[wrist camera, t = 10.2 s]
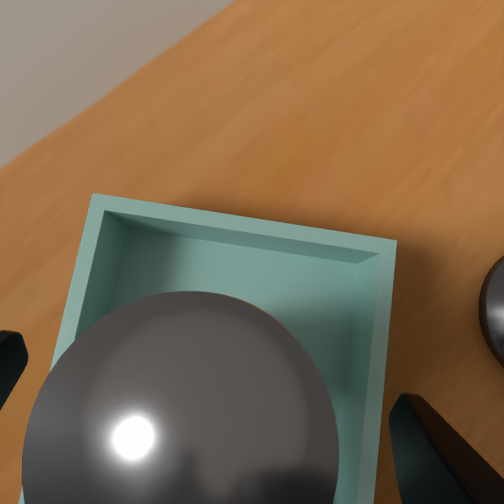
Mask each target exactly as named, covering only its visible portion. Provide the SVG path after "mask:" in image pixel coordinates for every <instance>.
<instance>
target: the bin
mask: <svg viewBox="0 0 504 504" xmlns="http://www.w3.org/2000/svg"><path fill="white" fill-rule="evenodd" d="M396 247H397V240H391V239H385V238H379V237H372V236H366V235H359V234H353V233H346V232H340V231H334V230H327V229H321V228H314V227H308V226H301V225H295V224H289V223H282V222H276V221H269V220H263V219H256V218H250V217H243V216H237V215H231V214H224V213H218V212H211V211H205V210H198V209H192V208H186V207H179V206H173V205H166V204H160V203H153V202H147V201H141V200H134V199H128V198H121V197H115V196H108V195H102V194H95V193H92V197H91V201H90V206H89V210H88V214H87V218H86V222H85V227H84V231H83V235H82V239H81V243H80V248H79V252H78V256H77V260H76V264H75V268H74V273H73V277H72V281H71V285H70V289H69V294H68V298H67V302H66V306H65V310H64V315H63V319H62V323H61V327H60V331H59V335H58V340H57V344H56V348H55V352H54V356H53V361H52V365H51V369H50V371H51V370H52V368H53V367H54V365H55V364H56V362H57V361H58V359H59V358H60V357H61V355H62V354H63V353H64V352H65V351H66V350H67V348H68V347H69V346H70V345H71V344H72V343H73V342H74V340H75V339H76V338H78V337H79V336H80V335H81V334H82V333H83V332H84V331H85V330H86V329H88V328H89V327H90V326H91V325H92V324H94V323H95V322H97V321H98V320H100V319H101V318H102V317H104V316H105V315H107V314H108V313H110V312H112V311H114V310H116V309H118V308H120V307H121V306H123V305H125V304H128V303H131V302H133V301H136V300H138V299H141V298H144V297H148V296H152V295H156V294H160V293H166V292H175V291H202V292H212V293H219V294H224V295H228V296H231V297H235V298H238V299H241V300H243V301H246V302H248V303H250V304H253V305H255V306H256V307H258V308H260V309H261V310H263V311H265V312H266V313H268V314H270V315H271V316H272V317H273V318H275V319H276V320H277V321H278V322H280V323H281V324H282V325H283V326H284V327H285V328H286V329H287V330H288V331H289V332H290V333H291V334H292V335H293V336H294V337H295V338H296V340H297V341H298V342H299V343H300V344H301V345H302V347H303V348H304V349H305V351H306V352H307V353H308V355H309V356H310V357H311V359H312V360H313V362H314V364H315V366H316V368H317V369H318V371H319V373H320V375H321V376H322V379H323V381H324V383H325V386H326V388H327V391H328V393H329V395H330V399H331V403H332V406H333V410H334V413H335V417H336V424H337V430H338V437H339V469H338V481H337V486H336V491H335V496H334V501H333V504H374V494H375V482H376V471H377V460H378V449H379V438H380V426H381V415H382V404H383V393H384V381H385V370H386V359H387V348H388V337H389V325H390V314H391V303H392V292H393V280H394V269H395V258H396ZM18 504H25V503H24V495H23V486H22V490H21V495H20V499H19V503H18Z"/></svg>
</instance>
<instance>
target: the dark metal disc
mask: <svg viewBox="0 0 504 504" xmlns="http://www.w3.org/2000/svg"><path fill="white" fill-rule="evenodd" d="M479 317H480V324H481V328H482V331H483V335H484V337H485V339H486V342H487V344H488V346H489V348H490V349H491V351H492V353H493V354H494V356H495V357H496V359H497V360H498V361H499V362H500V363H501V365H502V366H503V367H504V256H502V257H501V258H500V259H499V260H498V261H497V262H496V263H495V264H494V265H493V267H492V268H491V269H490V271H489V272H488V274H487V276H486V278H485V280H484V283H483V285H482V289H481V292H480V298H479Z"/></svg>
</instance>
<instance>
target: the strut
mask: <svg viewBox="0 0 504 504" xmlns="http://www.w3.org/2000/svg"><path fill="white" fill-rule="evenodd" d="M338 469H339V437H338V430H337V424H336V417H335V413H334V410H333V406H332V403H331V399H330V395H329V393H328V391H327V388H326V386H325V383H324V381H323V379H322V376H321V375H320V373H319V371H318V369H317V368H316V366H315V364H314V362H313V360H312V359H311V357H310V356H309V355H308V353H307V352H306V351H305V349H304V348H303V347H302V345H301V344H300V343H299V342H298V341H297V340H296V338H295V337H294V336H293V335H292V334H291V333H290V332H289V331H288V330H287V329H286V328H285V327H284V326H283V325H282V324H281V323H280V322H278V321H277V320H276V319H275V318H273V317H272V316H271V315H270V314H268V313H266V312H265V311H263V310H261V309H260V308H258V307H256V306H255V305H253V304H250V303H248V302H246V301H243V300H241V299H238V298H235V297H231V296H228V295H224V294H219V293H212V292H202V291H175V292H166V293H160V294H156V295H152V296H148V297H144V298H141V299H138V300H136V301H133V302H131V303H128V304H125V305H123V306H121V307H120V308H118V309H116V310H114V311H112V312H110V313H108V314H107V315H105V316H104V317H102V318H101V319H100V320H98V321H97V322H95V323H94V324H92V325H91V326H90V327H89V328H88V329H86V330H85V331H84V332H83V333H82V334H81V335H80V336H79V337H78V338H76V339H75V340H74V342H73V343H72V344H71V345H70V346H69V347H68V348H67V350H66V351H65V352H64V353H63V354H62V355H61V357H60V358H59V359H58V361H57V362H56V364H55V365H54V367H53V368H52V370H51V371H50V373H49V374H48V376H47V378H46V380H45V382H44V384H43V386H42V388H41V389H40V391H39V393H38V396H37V398H36V401H35V404H34V406H33V409H32V412H31V414H30V418H29V422H28V426H27V430H26V434H25V440H24V448H23V455H22V486H23V495H24V503H25V504H333V501H334V496H335V491H336V486H337V481H338Z"/></svg>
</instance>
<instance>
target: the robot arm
mask: <svg viewBox="0 0 504 504" xmlns="http://www.w3.org/2000/svg"><path fill="white" fill-rule="evenodd" d="M27 363H28V352H27V349H26V346H25V343H24V340H23V336H22V335H21V334H20V333H19V332H14V331H8V330H2V331H0V410H1V409H2V407H3V405H4V403H5V402H6V400H7V398H8V397H9V395H10V393H11V391H12V390H13V388H14V386H15V385H16V383H17V381H18V379H19V378H20V376H21V374H22V373H23V371H24V369H25V367H26V365H27ZM389 427H390V434H391V441H392V449H393V456H394V463H395V470H396V477H397V483H398V488H399V492H400V496H401V500H402V504H504V479H503V478H502V477H501V476H500V475H499V474H498V473H497V472H496V471H495V470H494V469H493V468H492V467H491V466H490V465H489V464H488V463H487V462H486V461H485V460H484V459H483V458H482V457H481V456H480V455H479V454H478V453H477V452H476V451H475V450H474V449H473V448H472V447H471V446H470V445H469V444H468V443H467V442H466V441H465V440H464V439H463V438H462V437H461V436H460V435H459V434H458V433H457V432H456V431H455V430H454V429H453V428H452V427H451V426H450V425H449V424H448V423H447V422H446V421H445V420H444V419H443V418H442V417H441V416H440V415H439V414H438V413H437V412H436V411H435V410H434V409H433V408H432V407H431V406H430V405H429V404H428V403H427V402H426V401H425V400H424V399H423V398H422V397H421V396H420V395H417V394H411V393H402V394H400V396H399V397H398V399H397V401H396V403H395V404H394V406H393V408H392V410H391V411H390V415H389Z"/></svg>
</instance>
